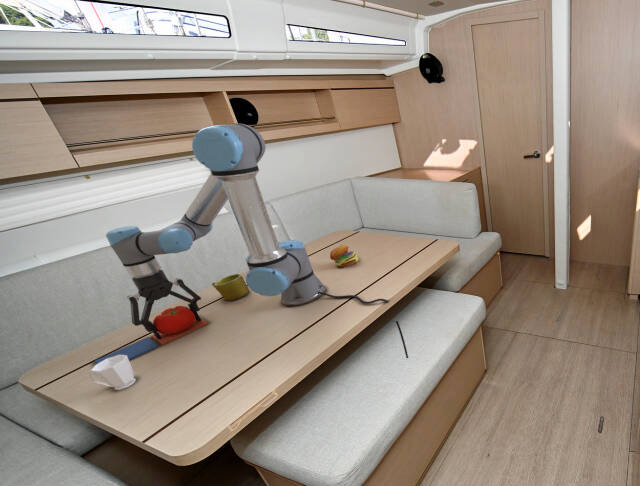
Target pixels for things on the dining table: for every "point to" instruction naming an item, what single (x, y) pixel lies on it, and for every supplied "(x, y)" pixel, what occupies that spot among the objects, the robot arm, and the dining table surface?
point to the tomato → (174, 320)
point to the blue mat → (133, 350)
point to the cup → (114, 372)
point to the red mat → (169, 337)
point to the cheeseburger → (343, 256)
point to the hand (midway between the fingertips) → (179, 328)
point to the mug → (231, 287)
